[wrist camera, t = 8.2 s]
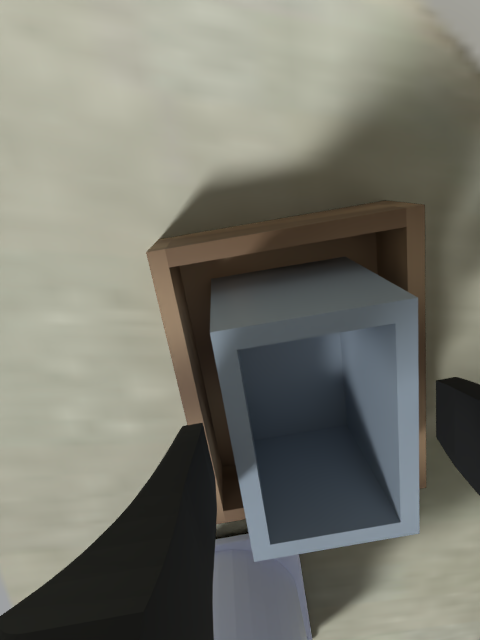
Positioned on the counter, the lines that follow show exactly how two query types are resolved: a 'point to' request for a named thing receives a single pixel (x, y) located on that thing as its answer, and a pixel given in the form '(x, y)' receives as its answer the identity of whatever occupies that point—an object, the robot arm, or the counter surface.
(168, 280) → the walnut crate
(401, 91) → the counter surface
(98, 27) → the counter surface
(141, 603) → the robot arm
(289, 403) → the grey crate
